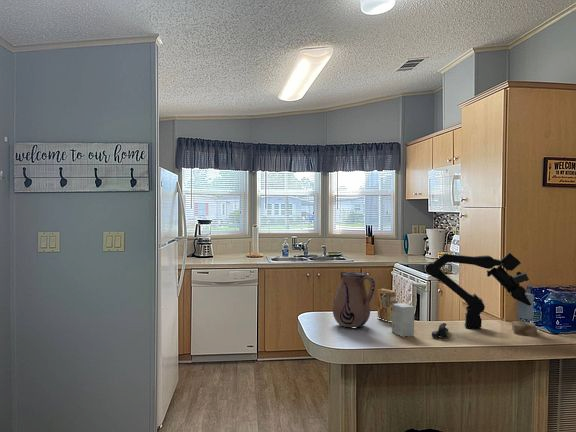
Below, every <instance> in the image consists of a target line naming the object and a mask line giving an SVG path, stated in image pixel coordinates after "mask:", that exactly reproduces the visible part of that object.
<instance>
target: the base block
mask: <svg viewBox="0 0 576 432" xmlns="http://www.w3.org/2000/svg"><path fill="white" fill-rule="evenodd" d="M511 330H512V332H513V333H514V334H515V335H518V334H519V335H525V336H534V337H536V336H537V335H538V327H537V326H536V323H534V322H528V321H527V322H526V321H515V320H512V321H511Z"/></svg>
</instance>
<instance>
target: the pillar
mask: <svg viewBox="0 0 576 432" xmlns="http://www.w3.org/2000/svg"><path fill="white" fill-rule="evenodd" d="M525 296H526V297H527V299H528V300H529V302H530V303H531V305H530V306H529V305H527V304H525V303H522V302H520V301H518V300H517V315H516V316H517V318H518V319H519V318H520V319H525V320H531V319H532V320H533V319H534V301H535V300H534V299H535V294H533V293H527V292H525Z"/></svg>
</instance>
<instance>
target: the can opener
mask: <svg viewBox="0 0 576 432" xmlns="http://www.w3.org/2000/svg"><path fill="white" fill-rule="evenodd" d="M446 326H447V323H446V322H442V323H440V324H439V325H438V330H436V331H435V330H434V331H432V332H431V336H432V338H436V339H437V338H440V339H446V338H448V337H449V336H448V331H450V330H449V328H448V327H446Z"/></svg>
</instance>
